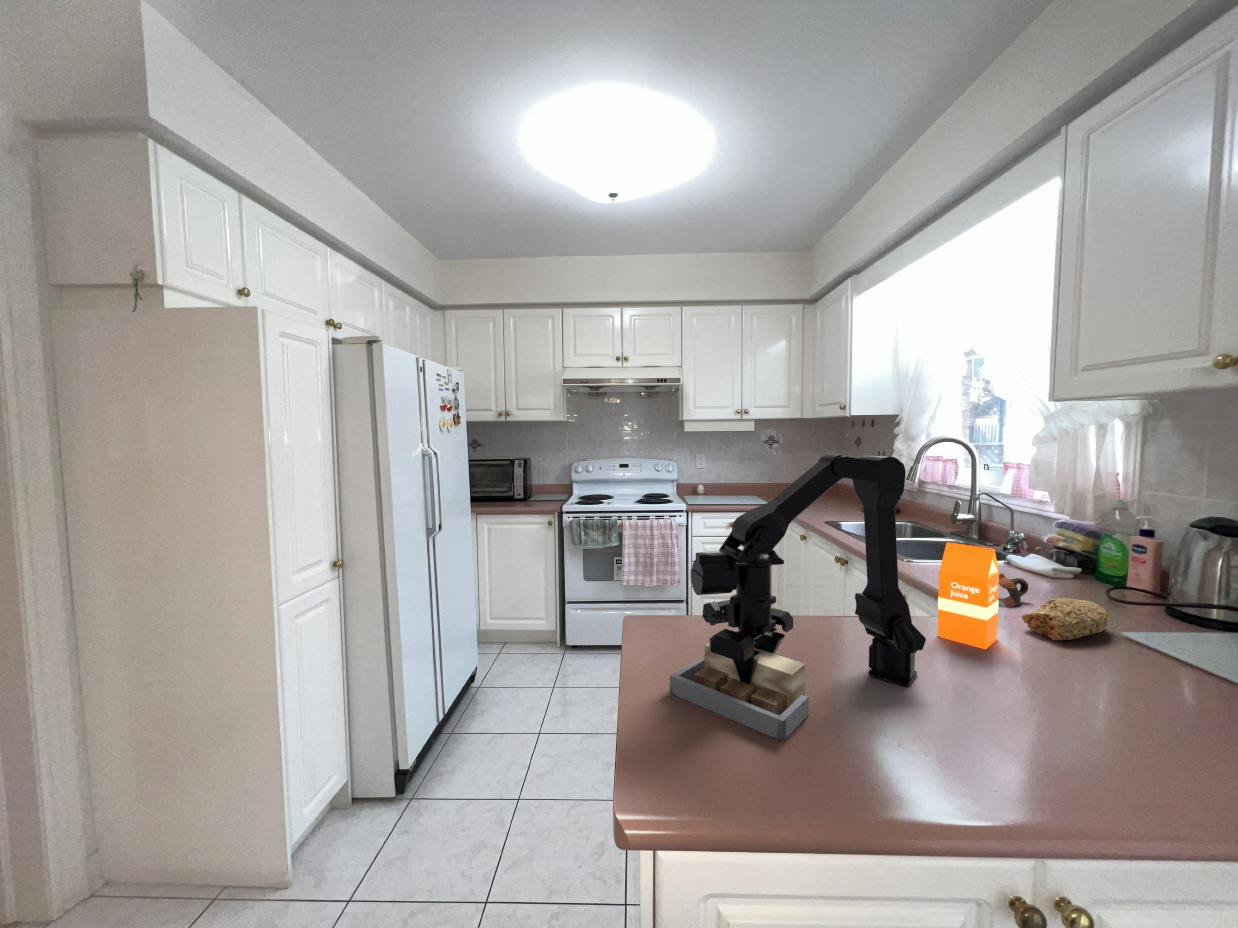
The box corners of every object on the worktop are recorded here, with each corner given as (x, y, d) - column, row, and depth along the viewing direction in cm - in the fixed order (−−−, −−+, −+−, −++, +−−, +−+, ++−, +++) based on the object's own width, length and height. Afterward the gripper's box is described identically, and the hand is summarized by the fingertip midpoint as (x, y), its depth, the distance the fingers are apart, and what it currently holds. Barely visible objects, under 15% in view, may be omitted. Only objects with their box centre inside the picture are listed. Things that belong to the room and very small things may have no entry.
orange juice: (985, 649, 100) (989, 551, 99) (936, 636, 107) (939, 544, 106) (997, 639, 105) (1000, 546, 104) (949, 627, 112) (952, 539, 111)
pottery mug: (998, 610, 124) (980, 578, 127) (978, 614, 133) (962, 584, 136) (1045, 598, 124) (1027, 566, 127) (1022, 603, 132) (1005, 573, 136)
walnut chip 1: (727, 690, 85) (727, 673, 85) (714, 699, 82) (714, 681, 82) (707, 682, 88) (707, 666, 88) (694, 691, 85) (694, 674, 85)
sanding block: (804, 699, 81) (805, 663, 81) (791, 711, 77) (792, 674, 77) (719, 668, 92) (719, 636, 92) (704, 678, 88) (704, 645, 88)
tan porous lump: (1073, 654, 101) (1141, 624, 106) (1060, 616, 101) (1128, 588, 106) (1010, 640, 113) (1073, 614, 118) (999, 607, 114) (1062, 582, 119)
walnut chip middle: (754, 704, 81) (754, 686, 81) (742, 714, 78) (742, 695, 78) (732, 695, 83) (732, 678, 83) (720, 705, 80) (720, 687, 80)
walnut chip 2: (786, 713, 78) (786, 695, 78) (775, 724, 75) (775, 705, 75) (762, 704, 81) (763, 686, 80) (750, 714, 78) (751, 695, 78)
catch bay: (808, 715, 77) (808, 696, 77) (783, 741, 70) (783, 720, 70) (699, 674, 91) (699, 658, 90) (670, 692, 84) (670, 675, 84)
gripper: (738, 570, 96) (738, 649, 97) (681, 593, 82) (682, 685, 83) (794, 581, 88) (794, 667, 89) (742, 608, 75) (742, 709, 76)
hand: (753, 680), depth 84 cm, fingers closed on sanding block, 5 cm apart
